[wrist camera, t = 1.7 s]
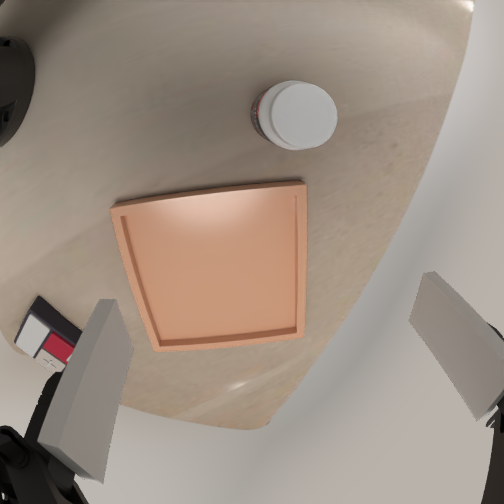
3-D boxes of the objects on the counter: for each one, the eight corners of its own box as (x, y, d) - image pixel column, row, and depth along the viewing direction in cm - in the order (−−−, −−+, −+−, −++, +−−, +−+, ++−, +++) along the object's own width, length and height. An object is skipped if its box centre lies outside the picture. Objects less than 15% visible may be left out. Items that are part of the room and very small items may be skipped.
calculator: (83, 395, 38) (11, 345, 31) (89, 376, 42) (21, 328, 35) (111, 372, 35) (27, 312, 29) (117, 351, 39) (39, 293, 33)
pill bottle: (244, 93, 25) (255, 79, 16) (301, 84, 25) (337, 71, 16) (256, 147, 28) (272, 162, 19) (310, 138, 28) (350, 149, 19)
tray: (115, 202, 28) (109, 208, 27) (301, 180, 29) (306, 184, 28) (156, 342, 37) (154, 352, 36) (300, 327, 38) (303, 337, 37)
